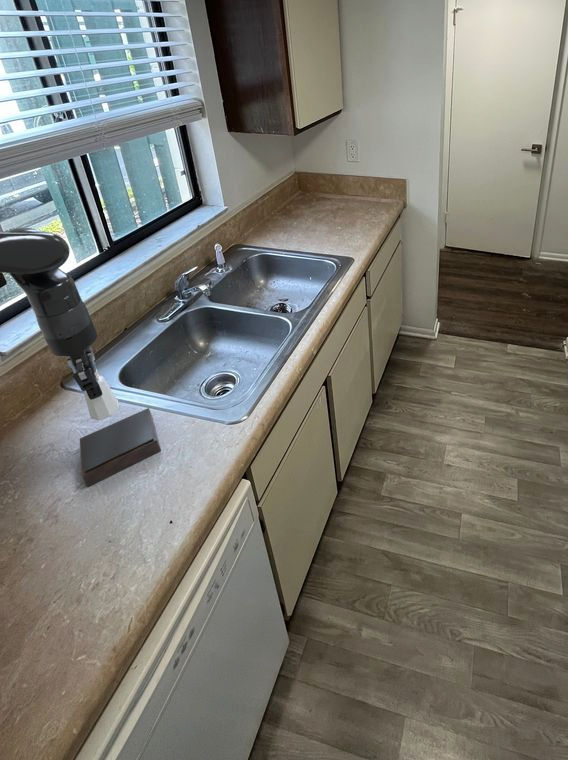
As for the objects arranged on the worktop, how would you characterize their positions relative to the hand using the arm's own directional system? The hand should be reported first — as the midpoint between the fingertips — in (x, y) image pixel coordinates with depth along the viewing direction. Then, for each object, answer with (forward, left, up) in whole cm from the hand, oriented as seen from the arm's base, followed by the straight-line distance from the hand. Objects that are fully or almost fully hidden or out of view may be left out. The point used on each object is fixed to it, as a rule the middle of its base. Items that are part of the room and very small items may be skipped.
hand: (95, 389), depth 90 cm
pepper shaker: (0, 0, -6) cm, 6 cm away
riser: (0, 0, -19) cm, 19 cm away
